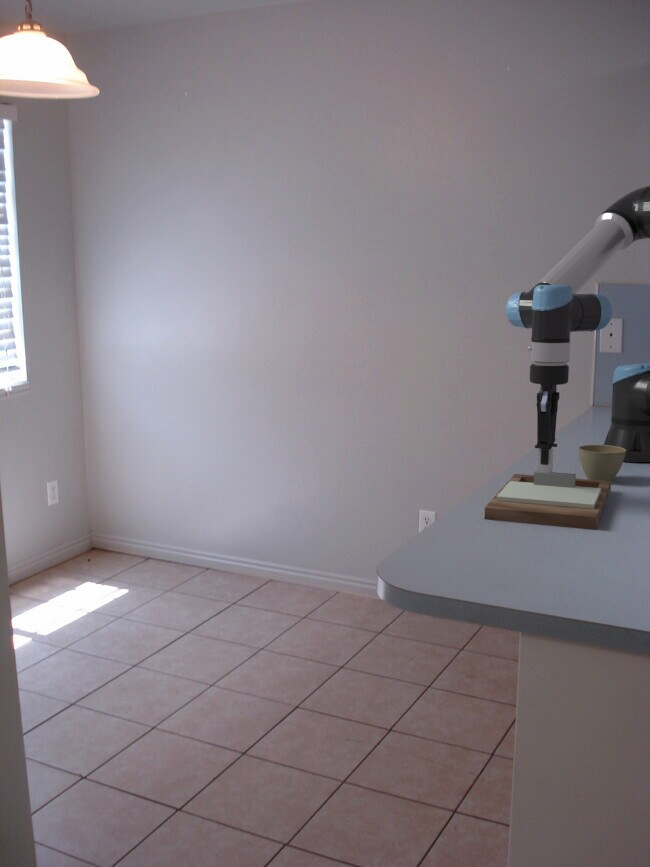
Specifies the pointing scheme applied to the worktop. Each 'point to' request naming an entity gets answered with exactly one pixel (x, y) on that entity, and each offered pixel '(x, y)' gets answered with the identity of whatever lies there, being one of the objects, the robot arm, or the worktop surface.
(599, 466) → the flower pot
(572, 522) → the wooden box
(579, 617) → the worktop surface
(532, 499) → the lid
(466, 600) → the worktop surface
